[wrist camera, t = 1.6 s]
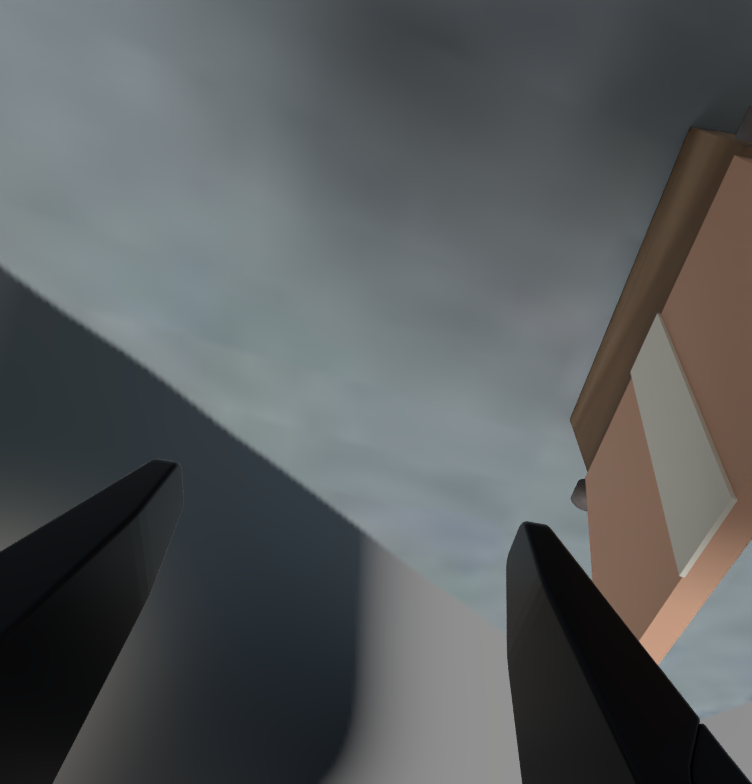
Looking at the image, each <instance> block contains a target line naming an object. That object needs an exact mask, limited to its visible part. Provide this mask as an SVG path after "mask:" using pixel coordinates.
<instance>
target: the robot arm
mask: <svg viewBox="0 0 752 784" xmlns="http://www.w3.org/2000/svg"><path fill="white" fill-rule="evenodd" d="M182 481H183V480H182V469H181V466H180V464H179V463H178V462H176V461H170V460H164V459H153V460H151V461H149V462H147V463H146V464H144V465H142V466H141V467H139V468H137V469H136V470H134V471H133V472H131V473H129V474H128V475H126V476H124V477H123V478H121V479H119V480H118V481H116V482H115V483H113V484H111V485H109V486H108V487H106V488H104V489H103V490H101V491H99V492H98V493H96V494H95V495H93V496H91V497H90V498H88V499H86V500H85V501H83V502H81V503H80V504H78V505H76V506H75V507H73V508H71V509H70V510H68V511H66V512H65V513H63V514H62V515H60V516H58V517H56V518H55V519H53V520H52V521H50V522H48V523H47V524H45V525H43V526H42V527H40V528H38V529H37V530H35V531H33V532H32V533H30V534H28V535H27V536H25V537H24V538H22V539H20V540H18V541H17V542H15V543H14V544H12V545H10V546H9V547H7V548H5V549H4V550H2V551H0V784H52V783H53V782H54V780H55V778H56V776H57V774H58V772H59V770H60V768H61V766H62V764H63V762H64V760H65V758H66V757H67V754H68V752H69V751H70V749H71V747H72V745H73V743H74V741H75V739H76V737H77V735H78V733H79V731H80V729H81V727H82V725H83V724H84V722H85V720H86V718H87V716H88V714H89V711H90V710H91V708H92V706H93V704H94V702H95V700H96V698H97V697H98V695H99V692H100V691H101V689H102V687H103V685H104V683H105V681H106V679H107V677H108V675H109V673H110V671H111V669H112V667H113V666H114V663H115V662H116V660H117V658H118V656H119V654H120V652H121V650H122V648H123V646H124V644H125V642H126V640H127V638H128V636H129V635H130V632H131V631H132V629H133V627H134V625H135V623H136V621H137V619H138V617H139V615H140V613H141V611H142V609H143V607H144V605H145V603H146V601H147V599H148V596H149V595H150V592H151V590H152V587H153V585H154V582H155V579H156V577H157V575H158V572H159V569H160V567H161V564H162V561H163V559H164V556H165V553H166V551H167V548H168V546H169V543H170V540H171V538H172V535H173V532H174V530H175V527H176V525H177V522H178V519H179V517H180V514H181V511H182V508H183V501H184V495H183V482H182ZM506 600H507V659H508V670H509V679H510V687H511V695H512V703H513V712H514V720H515V728H516V735H517V745H518V752H519V761H520V769H521V777H522V784H752V783H751V782H750V781H749V779H748V778H747V777H746V776H745V774H743V772H742V771H741V770H740V768H739V767H738V766H737V765H736V763H735V762H734V761H733V760H732V759H731V757H730V756H729V755H728V754H727V752H726V751H725V750H724V749H723V747H722V746H721V745H720V743H719V742H718V741H717V740H716V738H715V737H714V736H713V735H712V733H711V732H710V731H709V730H708V728H707V727H706V726H705V725H704V724H699V723H700V719H699V717H698V716H697V714H696V713H695V712H694V711H693V709H692V708H691V707H690V705H689V704H688V703H687V702H686V700H685V699H684V698H683V697H682V695H681V694H680V693H679V691H678V690H677V689H676V688H675V686H674V685H673V684H672V683H671V681H670V680H669V679H668V677H667V676H666V675H665V674H664V672H663V671H662V670H661V668H660V667H659V666H658V665H657V663H656V662H655V661H654V660H653V658H652V657H651V656H650V654H649V653H648V652H647V651H646V649H645V648H644V647H643V646H642V644H641V643H640V642H639V640H638V639H637V638H636V637H635V635H634V634H633V633H632V631H631V630H630V629H629V628H628V626H627V625H626V624H625V623H624V621H623V620H622V619H621V617H620V616H619V615H618V614H617V612H616V611H615V610H614V608H613V607H612V606H611V605H610V603H609V602H608V601H607V600H606V598H605V597H604V596H603V594H602V593H601V592H600V591H599V589H598V588H597V587H596V586H595V584H594V583H593V582H592V580H591V579H590V578H589V577H588V575H587V574H586V573H585V571H584V570H583V569H582V568H581V566H580V565H579V564H578V563H577V561H576V560H575V559H574V557H573V556H572V555H571V554H570V552H569V551H568V550H567V549H566V547H565V546H564V545H563V543H562V542H561V541H560V540H559V538H558V537H557V536H556V534H555V533H554V532H553V531H552V529H551V528H550V527H548V526H547V525H545V524H539V523H534V522H528V521H526V522H523V523H522V524H521V525H520V527H519V529H518V531H517V534H516V536H515V539H514V541H513V544H512V546H511V549H510V551H509V554H508V558H507V565H506Z"/></svg>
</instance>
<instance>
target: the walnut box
mask: <svg viewBox="0 0 752 784" xmlns="http://www.w3.org/2000/svg"><path fill="white" fill-rule="evenodd" d="M734 155H736V156H741V157H747V158H752V106H749V107H748V109H747V112H746V114H745V116H744V118H743V120H742V123H741V125H740V127H739V129H738V131H737V134H730V133H724V132H718V131H712V130H706V129H700V128H694V127H690V129H689V131H688V134H687V136H686V138H685V141H684V143H683V146H682V148H681V151H680V153H679V155H678V158H677V160H676V163H675V165H674V168H673V170H672V173H671V175H670V177H669V180H668V182H667V185H666V187H665V190H664V192H663V194H662V197H661V199H660V202H659V204H658V207H657V209H656V211H655V214H654V216H653V219H652V221H651V224H650V226H649V229H648V231H647V233H646V236H645V238H644V241H643V243H642V246H641V248H640V250H639V253H638V255H637V258H636V260H635V263H634V265H633V267H632V270H631V272H630V275H629V277H628V280H627V282H626V285H625V287H624V289H623V292H622V294H621V297H620V299H619V302H618V304H617V306H616V309H615V311H614V314H613V316H612V319H611V321H610V324H609V326H608V328H607V331H606V333H605V336H604V338H603V341H602V343H601V345H600V348H599V350H598V353H597V355H596V358H595V360H594V362H593V365H592V367H591V370H590V372H589V375H588V377H587V380H586V382H585V384H584V387H583V389H582V392H581V394H580V397H579V399H578V401H577V404H576V406H575V409H574V411H573V414H572V416H571V418H570V422H571V425H572V428H573V431H574V434H575V436H576V439H577V442H578V445H579V448H580V451H581V454H582V457H583V460H584V463H585V466H586V469H587V472H588V471H589V469H590V466H591V464H592V462H593V460H594V458H595V456H596V453H597V451H598V449H599V447H600V445H601V443H602V441H603V438H604V436H605V434H606V432H607V430H608V428H609V425H610V423H611V421H612V419H613V417H614V415H615V412H616V410H617V408H618V406H619V404H620V402H621V399H622V397H623V395H624V393H625V391H626V389H627V386H628V384H629V382H630V380H631V378H632V377H631V373H630V372H631V369H632V367H633V365H634V363H635V361H636V358H637V356H638V354H639V352H640V350H641V347H642V345H643V343H644V341H645V339H646V337H647V334H648V332H649V330H650V328H651V326H652V323H653V321H654V319H655V317H656V315H657V313H659V314H661V313H662V311H663V309H664V306H665V304H666V302H667V300H668V298H669V296H670V293H671V291H672V289H673V287H674V285H675V283H676V280H677V278H678V276H679V274H680V272H681V270H682V267H683V265H684V263H685V261H686V259H687V257H688V255H689V252H690V250H691V248H692V246H693V244H694V242H695V239H696V237H697V235H698V233H699V231H700V229H701V226H702V224H703V222H704V220H705V218H706V216H707V213H708V211H709V209H710V207H711V205H712V203H713V200H714V198H715V196H716V194H717V192H718V190H719V187H720V185H721V183H722V181H723V179H724V177H725V174H726V172H727V170H728V168H729V166H730V164H731V162H732V159H733V157H734ZM571 501H572V503H573V504H574V505H575V506H576V507H577V508H579V509H581V510H584V511H588V510H587V496H586V482H585V479H581V480H579V481H578V483H577V485H576V487H575V489H574V492H573V494H572V496H571Z"/></svg>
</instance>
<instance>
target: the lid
mask: <svg viewBox="0 0 752 784" xmlns="http://www.w3.org/2000/svg"><path fill="white" fill-rule="evenodd" d="M630 373H631V377H632V378H631V380H630V382H629V384H628V386H627V389H626V391H625V393H624V395H623V397H622V399H621V402H620V404H619V406H618V408H617V410H616V412H615V415H614V417H613V419H612V421H611V423H610V425H609V428H608V430H607V432H606V434H605V436H604V438H603V441H602V443H601V445H600V447H599V449H598V451H597V453H596V456H595V458H594V460H593V462H592V464H591V466H590V469H589V471H588V473H587V475H586V477H585V482H586V496H587V510H588V524H589V537H590V551H591V565H592V579H593V583H594V584H595V586H596V587H597V588H598V589H599V591H600V592H601V593H602V594H603V596H604V597H605V598H606V600H607V601H608V602H609V603H610V605H611V606H612V607H613V608H614V610H615V611H616V612H617V614H618V615H619V616H620V617H621V619H622V620H623V621H624V623H625V624H626V625H627V626H628V628H629V629H630V630H631V631H632V633H633V634H634V635H635V637H636V638H637V639H638V640H639V642H640V643H641V644H642V646H643V647H644V648H645V649H646V651H647V652H648V653H649V654H650V656H651V657H652V658H653V660H654V661H655V662H656V663H657V665H659V663H660V662H661V660H662V659H663V658H664V656H665V655H666V654H667V652H668V651H669V650H670V648H671V647H672V646H673V644H674V643H675V642H676V640H677V639H678V638H679V636H680V635H681V634H682V632H683V631H684V630H685V628H686V627H687V625H688V624H689V623H690V621H691V620H692V619H693V617H694V616H695V615H696V613H697V612H698V611H699V609H700V608H701V607H702V605H703V604H704V603H705V601H706V600H707V599H708V597H709V596H710V595H711V593H712V592H713V590H714V589H715V588H716V586H717V585H718V584H719V582H720V581H721V580H722V578H723V577H724V576H725V574H726V573H727V572H728V570H729V569H730V568H731V566H732V565H733V564H734V562H735V561H736V559H737V558H738V557H739V555H740V554H741V553H742V551H743V550H744V549H745V547H746V546H747V545H748V543H749V542H750V541H751V539H752V158H747V157H741V156H736V155H734V157H733V159H732V162H731V164H730V166H729V168H728V170H727V172H726V174H725V177H724V179H723V181H722V183H721V185H720V187H719V190H718V192H717V194H716V196H715V198H714V200H713V203H712V205H711V207H710V209H709V211H708V213H707V216H706V218H705V220H704V222H703V224H702V226H701V229H700V231H699V233H698V235H697V237H696V239H695V242H694V244H693V246H692V248H691V250H690V252H689V255H688V257H687V259H686V261H685V263H684V265H683V267H682V270H681V272H680V274H679V276H678V278H677V280H676V283H675V285H674V287H673V289H672V291H671V293H670V296H669V298H668V300H667V302H666V304H665V306H664V309H663V311H662V313H661V314H659V313H657V315H656V317H655V319H654V321H653V323H652V326H651V328H650V330H649V332H648V334H647V337H646V339H645V341H644V343H643V345H642V347H641V350H640V352H639V354H638V356H637V358H636V361H635V363H634V365H633V367H632V369H631V372H630Z"/></svg>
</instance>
